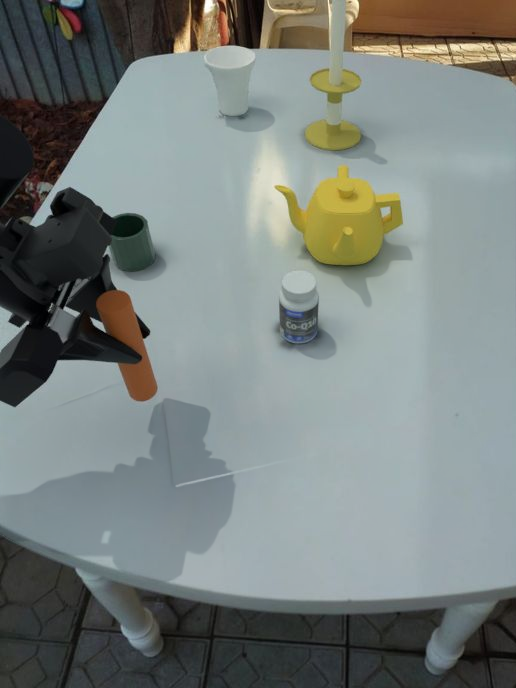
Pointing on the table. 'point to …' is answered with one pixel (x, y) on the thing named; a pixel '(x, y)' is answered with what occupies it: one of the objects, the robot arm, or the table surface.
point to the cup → (231, 77)
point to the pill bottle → (298, 307)
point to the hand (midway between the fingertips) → (143, 348)
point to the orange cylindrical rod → (128, 342)
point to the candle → (335, 91)
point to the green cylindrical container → (131, 242)
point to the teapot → (344, 219)
